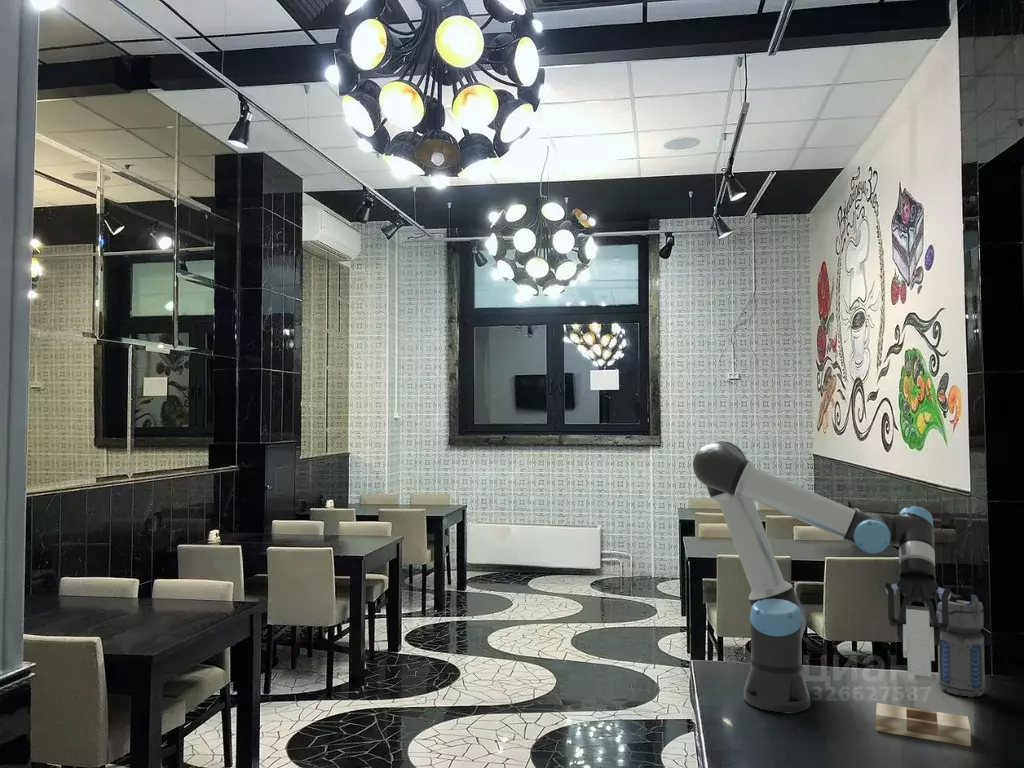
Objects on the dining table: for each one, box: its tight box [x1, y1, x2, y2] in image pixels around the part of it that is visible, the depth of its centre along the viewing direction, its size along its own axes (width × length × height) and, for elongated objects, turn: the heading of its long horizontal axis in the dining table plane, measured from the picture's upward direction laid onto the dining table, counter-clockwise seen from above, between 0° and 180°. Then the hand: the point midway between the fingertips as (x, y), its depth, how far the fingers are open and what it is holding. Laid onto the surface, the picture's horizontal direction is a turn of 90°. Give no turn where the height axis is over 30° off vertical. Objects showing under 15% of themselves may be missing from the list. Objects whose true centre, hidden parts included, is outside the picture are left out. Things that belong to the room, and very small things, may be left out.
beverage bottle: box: [934, 591, 986, 698], centre depth 199 cm, size 10×13×25 cm
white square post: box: [905, 605, 932, 678], centre depth 173 cm, size 4×4×14 cm
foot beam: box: [875, 702, 972, 747], centre depth 172 cm, size 18×8×4 cm, turn 64°
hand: (918, 655), depth 169 cm, fingers closed on white square post, 4 cm apart
